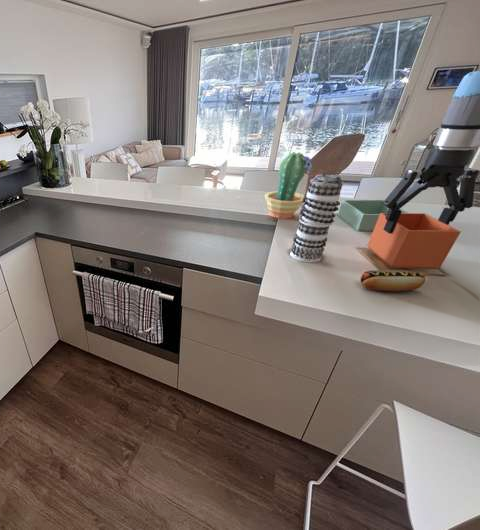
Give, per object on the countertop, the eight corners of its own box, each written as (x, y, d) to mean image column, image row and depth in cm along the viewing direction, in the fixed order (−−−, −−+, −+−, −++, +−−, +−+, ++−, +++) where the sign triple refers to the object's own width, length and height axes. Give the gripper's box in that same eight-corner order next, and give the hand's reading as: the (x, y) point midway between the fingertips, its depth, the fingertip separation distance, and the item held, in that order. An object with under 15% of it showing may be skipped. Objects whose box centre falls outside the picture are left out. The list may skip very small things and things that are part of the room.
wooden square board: (410, 252, 88) (411, 250, 88) (444, 276, 77) (445, 274, 76) (358, 250, 91) (359, 249, 91) (383, 273, 80) (384, 272, 79)
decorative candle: (282, 253, 93) (300, 175, 81) (302, 247, 96) (324, 170, 83) (307, 265, 86) (332, 182, 73) (329, 258, 89) (357, 176, 76)
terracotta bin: (408, 247, 88) (425, 213, 82) (439, 269, 77) (461, 231, 71) (366, 246, 90) (380, 213, 84) (391, 267, 79) (408, 230, 73)
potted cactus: (283, 224, 113) (298, 158, 100) (252, 213, 125) (263, 152, 113) (310, 216, 118) (328, 152, 105) (278, 206, 130) (291, 147, 118)
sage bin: (378, 216, 113) (384, 199, 110) (403, 232, 100) (412, 214, 96) (337, 215, 116) (342, 200, 113) (357, 232, 103) (363, 214, 99)
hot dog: (424, 295, 71) (434, 278, 68) (364, 294, 73) (371, 278, 70) (409, 284, 75) (418, 268, 72) (353, 283, 77) (360, 267, 74)
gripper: (500, 143, 69) (453, 227, 80) (386, 147, 74) (357, 225, 85) (531, 147, 63) (475, 238, 74) (404, 152, 68) (370, 236, 79)
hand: (412, 231), depth 79 cm, fingers closed on terracotta bin, 11 cm apart
